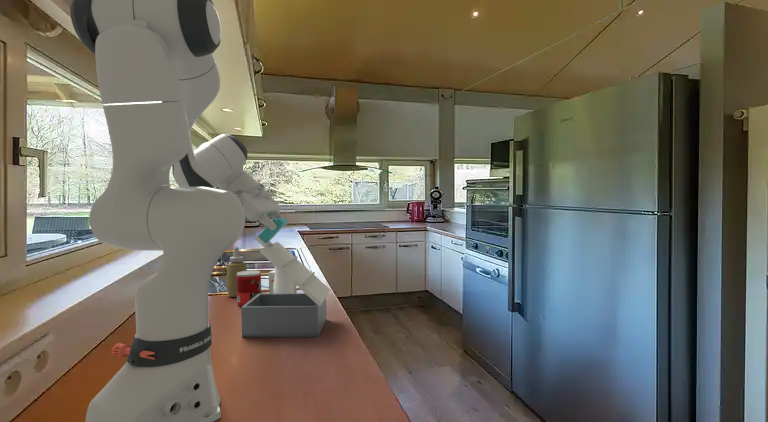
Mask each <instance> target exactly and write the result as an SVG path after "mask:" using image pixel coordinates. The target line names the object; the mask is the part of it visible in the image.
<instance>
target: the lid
mask: <svg viewBox="0 0 768 422" xmlns="http://www.w3.org/2000/svg"><path fill="white" fill-rule="evenodd" d="M271 220H272V221H274V222H275V223H276V224H277V228H276V229H275V230H270V229H269V228H268V227H267V226H266V227H264V229H263V230H262V231H261V233H259V234H258V235H257V236H255V237H254V240H255V241H256V242H257V243H259V244H260V245H261V246H262V248H261V249H260V250H259V251H258V252H259V253H260V254H261V255H262V256H264V257H265V258H266V259H267V260H268V261H269V262H270V263H271V264H272V265H273V266H274V267H275V266H276V267H277V268H278V269H279V270H280V271H281V272H282V273H283V274H284V275H285V276H287V277H288V278H289V279H290V280H291V281H292V282H293V283H294V284H295V285H296V287H297V288H299V289H300V290H301V291H302V292H303V293H305V294H306V295H307V296H309V297H310V298H311V299H312V300H313V301H314V302H315V303H316V304H317V305H318V306H319V307H320V306H321V304H322V303H323V302H324V300H325V298H326V299H327V297H328V295H329V293H330V291H331V288H329V287H328V286H327V285H326V283H324V282H323V281H322V280H321V279H319V277H318V276H316V275H315V274H316V273H315V272H314V271H313V272H312V271H311V270H309V268H307V266H305V265H304V264H303V263H302V262H301V261H300V260H299V259H298V258H299V257H298V256H297V255H296V256H294V255H292V254H293V253H291V252H290V251H289V250H288V249H287V248H285V246H283V245H282V244H281V243H280V242H279V241H276V242H274V243H272V242H271V240H273V238H274V237H276V235H277V234H278V233H279V232H280V231H281V229H283V226H284V227H285V226H287V225H288V224H289V223H290V221H289V219H287V218H286V217H282V218H280V219H278V218H275V219H273V218H272V219H271Z"/></svg>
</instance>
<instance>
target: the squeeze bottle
mask: <svg viewBox="0 0 768 422" xmlns="http://www.w3.org/2000/svg"><path fill="white" fill-rule="evenodd" d="M226 267H227V269H226V282H225V289H226V291H227V294H228V296H229V297H231V298H237V273H238V272H241V271H248V269H247V268H248V267H247V263H246V262H245V261H244V256H241V254H240V249H239V247H238V246H235V247H234V250H233V255H232V256H230V257H229V263H227V266H226Z"/></svg>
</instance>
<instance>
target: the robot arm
mask: <svg viewBox="0 0 768 422" xmlns="http://www.w3.org/2000/svg"><path fill="white" fill-rule="evenodd" d="M69 8H70V20H71V24H72V27H73V29H74V32H75V35H77V37H78V39H79V41H80V42H81V43H82V44H83V45H84V47H86V48H87V49H88V50H89V52H91V53H92V54H94V56H95V71H96V77H97V78H96V79H97V84H98V85H97V86H98V91H99V95H100V100H101V104H102V107H103V111H104V116H105V120H106V126H107V131H108V135H109V139H110V140H109V141H110V145H111V151H112V153H111V154H112V167H111V173H110V178H109V181H108V184H107V186H106V187H105V190H104V191H103V192H102V193H101V194H100V195H99V196H98V197H97V198H96V200H94V202H93V204H92V206H91V208H90V212H89V216H88V218H89V219H88V221H89V226H90V229H91V232H92V234H93V235H94V237H95V239H96V240H97V241H98V242H100V243H101V244H103V245H105V246H106V245H107V246H109V247H114V248H117V249H123V250H127V251H140V252H141V251H146V252H147V251H155V252H156V251H159V252H160V251H162V252H163V256H162V261H161V265H160V268H159V269H158V271H157V272H155V273H154V274H153V275H151V276H149V277H147V278H146V279H145V280H143V281H142V282H141V283H140V284H139V286H137V288H136V291H135V294H134V305H135V309H134V310H135V332H136V333H135V334H134V335H133V338H132V341H131V344H130V345H129V344H124V343H121V342H119V343H115V344H114V345H113V346H112V348H111V351H110V353H111V355H112V356H113V357H119V358H122V359H123V358H126V362H125V363H124V364H123V366H122V367H121V368H120V369H119V370H118V371H117V372H116V373H115V374H114V376H113V377H112V378H111V379H110V380H109V381H108V382H107V383H106V384H105V386H104V387H103V388H102V389H101V390H100V391H99V392H98V393H97V394H96V395H95V396H94V398H92V399H91V401H90V402H89V405H88V406H87V410H86V414H85V422H216V421H218V420H219V419H220V418H221V417H222V411H221V407H220V404H221V399H222V398H221V395H220V393H219V390H218V387H217V383H216V379H215V373H214V368H213V363H212V358H211V350H210V347H211V346H212V344H213V343H212V342H213V340H212V337H213V334H212V326H211V323H209V288H210V287H209V285H210V281H211V277H212V274H213V271H214V268H215V266H216V264H217V263H218V261H219V259H220V258H221V256H223V254H224V253H225V252H226V251H228V249H230V247H232V246H233V245H234V244H236V243H237V242H238V240H239V239H240V237H241V236H242V233H243V231H244V228H245V225H246V219H248V220H249V221H250V222H255V221H259V222H260V223H261V224H262V225H264V226H266V227H268V228H269V229H270V230H275V229H276V228H277V224H276V223H275V222H274V221H272V220H273V219H275V218H278V219H280V218H283V216H282V215H281V213H280V211H282V210H281V207H280V205H279V204H278V203H277V201H276V200H275V199H274V198H273V197H272V196H271V194H270V193H269V192H267V191H266V190H265V189H266V188H265V186H264V185H263V183H260V182H259V181H257V180H256V179H255V178H254V177H253V176H251V174H250V173H248V172H247V171H246V170H244V169H243V166H245V165H246V164H247V162H248V161H247V160H248V149H247V147H246V146H245V144H244V143H243V142H242V141H241V140H240V139H239V138H237V137H236V136H235V135H232V134H229V133H222V134H220V135H217V136H216V137H213V139H211V140H209V141H207V142H203V143H202V144H200V145H199V146H198V147H197V148H196V149H195V150H194V148H193V147H194V146H193V143H192V139H191V131H192V129H193V127H194V125H195V123H196V122H197V121H198V119H199V118H200V117H201V115H202V114H203V113H204V112H205V111H206V110H207V108H209V106H210V105H212V103H213V102H214V101H215V99H216V98H217V97H218V94H219V92H220V89H221V76H220V71H219V68H218V65H217V62H216V59H215V57H214V54H213V53H214V52H216V50H217V49H218V48H219V47H220V44H221V37H222V36H221V35H222V23H221V19H220V16H219V13H218V11H217V8H216V7H215V4H214V2H213V1H212V0H72V2H71V4H70V7H69ZM171 169H172V176H173V179H174V181H175V183H176V184H177V186H171V183H170V173H171ZM271 218H272V219H271ZM283 227H285V226H283ZM283 227H282V228H283Z"/></svg>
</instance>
